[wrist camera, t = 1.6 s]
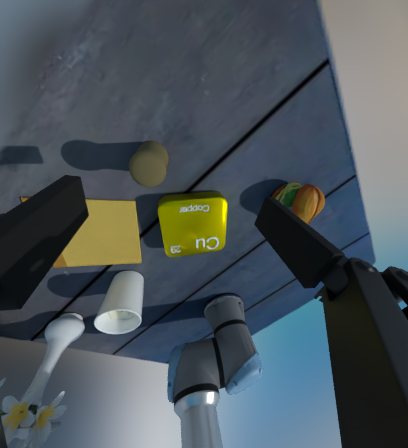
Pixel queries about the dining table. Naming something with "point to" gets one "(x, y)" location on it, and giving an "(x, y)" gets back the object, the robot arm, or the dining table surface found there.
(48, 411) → the flower vase
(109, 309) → the candle holder
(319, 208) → the cheeseburger
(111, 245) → the towel
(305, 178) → the dining table surface
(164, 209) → the element tile
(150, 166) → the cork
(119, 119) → the dining table surface
